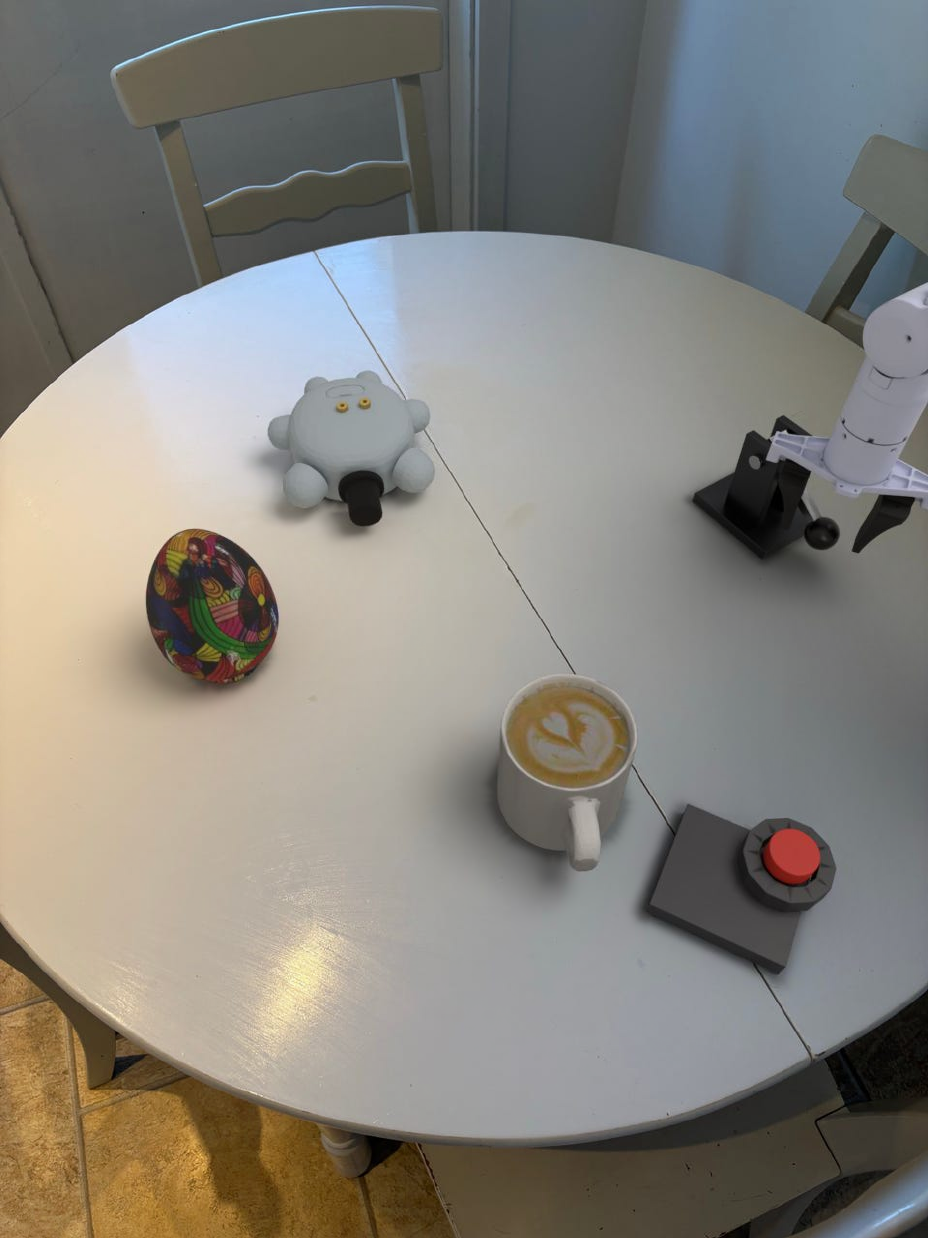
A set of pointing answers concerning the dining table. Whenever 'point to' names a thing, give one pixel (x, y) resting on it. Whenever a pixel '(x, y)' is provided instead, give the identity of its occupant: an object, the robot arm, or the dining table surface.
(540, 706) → the coffee mug
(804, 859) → the button
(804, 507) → the lever
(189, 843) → the dining table surface
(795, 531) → the bracket
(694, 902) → the button block
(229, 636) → the egg
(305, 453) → the figurine
